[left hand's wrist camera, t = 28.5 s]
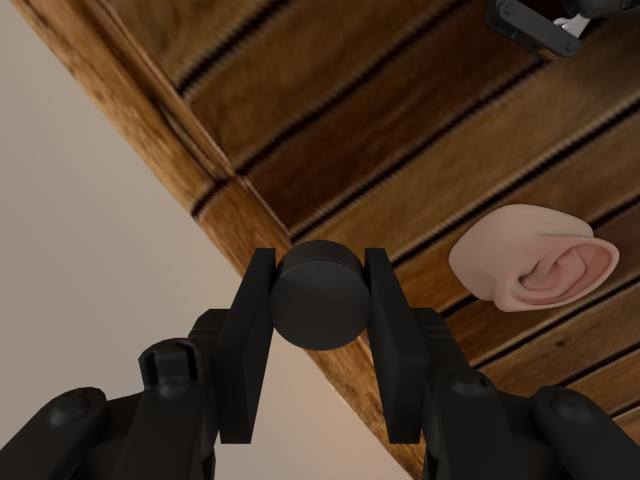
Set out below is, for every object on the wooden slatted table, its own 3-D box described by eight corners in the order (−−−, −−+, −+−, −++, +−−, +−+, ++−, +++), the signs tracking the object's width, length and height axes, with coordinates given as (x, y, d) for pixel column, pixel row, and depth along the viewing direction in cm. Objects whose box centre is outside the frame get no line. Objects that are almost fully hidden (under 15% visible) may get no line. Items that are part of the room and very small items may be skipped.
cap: (305, 222, 14) (303, 241, 12) (383, 269, 14) (393, 294, 13) (257, 293, 15) (248, 321, 13) (332, 334, 16) (334, 366, 14)
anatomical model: (444, 297, 34) (517, 188, 30) (432, 278, 38) (495, 178, 34) (559, 345, 36) (641, 248, 32) (537, 322, 40) (608, 232, 36)
